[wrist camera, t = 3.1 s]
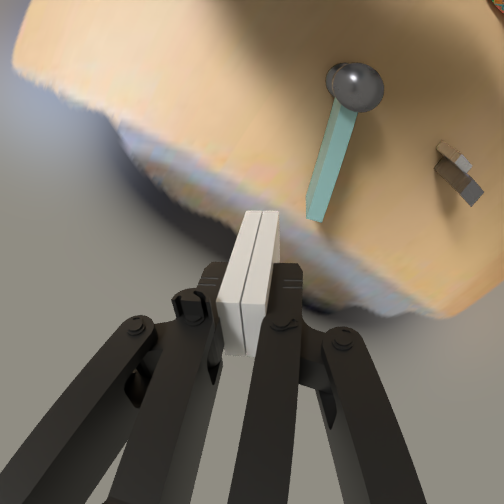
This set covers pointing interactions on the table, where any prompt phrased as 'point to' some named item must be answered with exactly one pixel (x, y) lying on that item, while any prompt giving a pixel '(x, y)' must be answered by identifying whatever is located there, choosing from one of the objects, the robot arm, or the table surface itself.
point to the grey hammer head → (355, 86)
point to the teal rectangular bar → (329, 160)
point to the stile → (457, 173)
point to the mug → (499, 4)
